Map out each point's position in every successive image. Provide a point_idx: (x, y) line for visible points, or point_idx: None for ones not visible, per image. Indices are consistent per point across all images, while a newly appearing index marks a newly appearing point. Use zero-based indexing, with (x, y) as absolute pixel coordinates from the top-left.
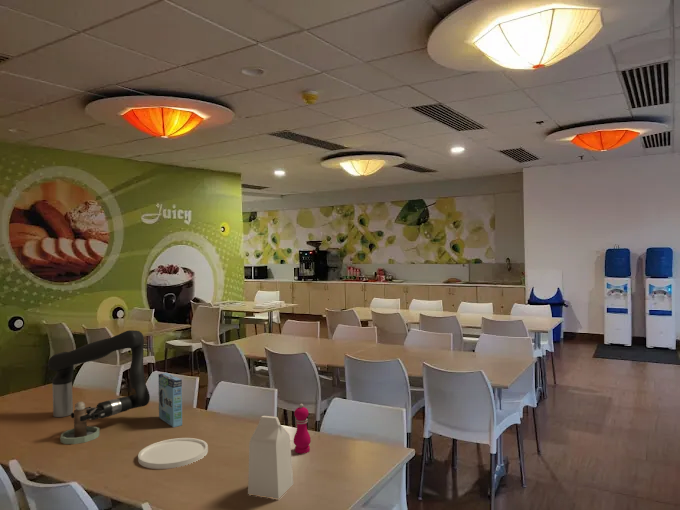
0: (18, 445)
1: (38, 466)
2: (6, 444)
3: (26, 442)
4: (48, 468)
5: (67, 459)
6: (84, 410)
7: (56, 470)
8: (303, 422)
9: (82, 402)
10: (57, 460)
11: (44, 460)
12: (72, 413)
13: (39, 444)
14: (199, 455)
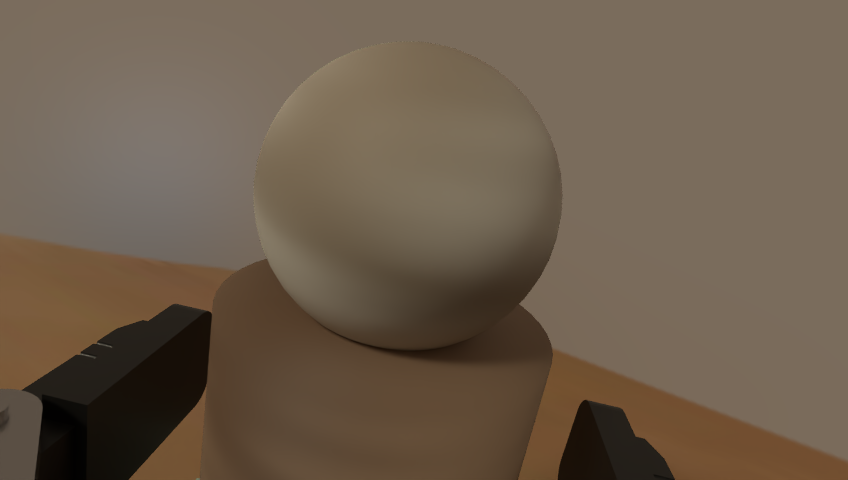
0: (640, 417)
1: (172, 270)
2: (722, 415)
3: (678, 462)
4: (85, 259)
5: (17, 319)
6: (229, 304)
7: (10, 248)
8: None
9: (348, 56)
10: (98, 309)
11: (201, 306)
12: (588, 406)
13: (538, 456)
14: None
